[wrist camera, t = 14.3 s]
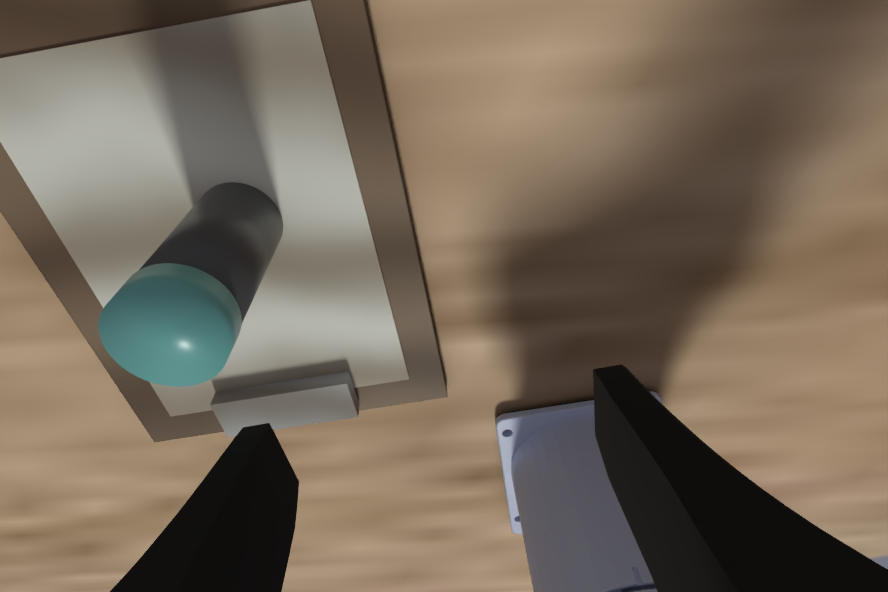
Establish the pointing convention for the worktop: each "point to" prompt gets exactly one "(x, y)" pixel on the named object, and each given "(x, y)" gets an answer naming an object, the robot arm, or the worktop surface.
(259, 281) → the marker
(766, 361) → the worktop surface
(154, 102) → the clipboard
